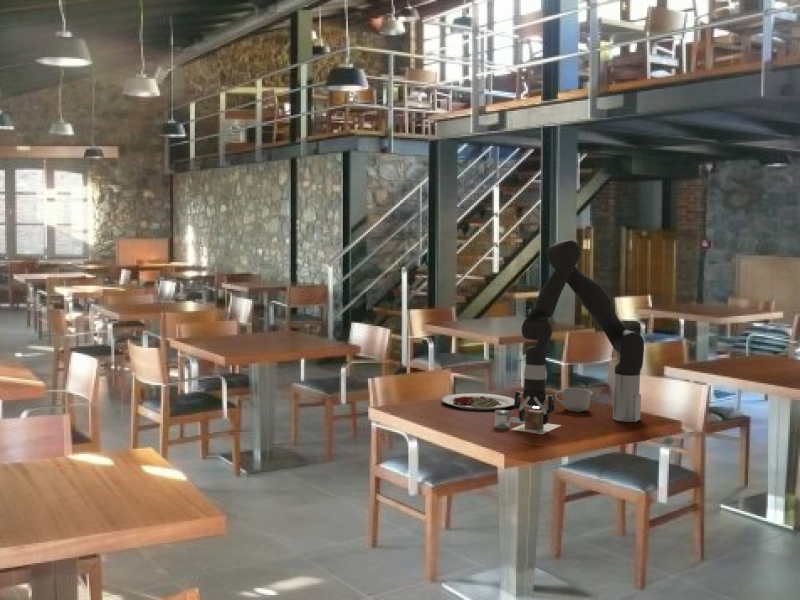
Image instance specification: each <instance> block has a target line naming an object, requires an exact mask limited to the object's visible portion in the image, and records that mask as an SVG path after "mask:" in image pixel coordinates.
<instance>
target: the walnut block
mask: <svg viewBox="0 0 800 600" xmlns="http://www.w3.org/2000/svg"><path fill="white" fill-rule="evenodd" d="M543 414H544V413H543V411H542V410H540V409H531V408H530V409H528V410H525V429H531V430H540V429H542V428H544V424H543Z"/></svg>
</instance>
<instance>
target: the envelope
mask: <svg viewBox="0 0 800 600" xmlns="http://www.w3.org/2000/svg"><path fill="white" fill-rule="evenodd" d="M561 426H562V425H561V424H552V423H549V422H548V423H547V424H546V425H544V428H542V429H540V430H531V429H525V424H520V425H518V426H515V427H512V428H511V429H510V430H511V431H519V432H526V433H531V434H532V433H534V434H540V435H544V434H545V433H548V432H550V431H552V430H554V429H556V428H559V427H561Z"/></svg>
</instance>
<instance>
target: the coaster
mask: <svg viewBox="0 0 800 600" xmlns="http://www.w3.org/2000/svg"><path fill="white" fill-rule="evenodd" d="M510 423H514V424H520V425H522V424H525V420H524V421H523V422H522V421H520V419H519V416H518V417H516V416H512V417H510Z"/></svg>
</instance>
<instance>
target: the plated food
mask: <svg viewBox="0 0 800 600" xmlns="http://www.w3.org/2000/svg"><path fill="white" fill-rule="evenodd" d="M514 401H515V398H512V397H509V396H504V395H500V394H494V393H493V394H491V393H476V392H475V393H471V392H470V393H457V394H456V393H455V394H449V395H446V396H443V397H442V398H441V402H443V403H444V404H447V405H450V406H453V407H456V408H458V409H465V410H475V411H477V410H478V411H491V410H492V411H496V410H503V409H506V408H508V407H514Z"/></svg>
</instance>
